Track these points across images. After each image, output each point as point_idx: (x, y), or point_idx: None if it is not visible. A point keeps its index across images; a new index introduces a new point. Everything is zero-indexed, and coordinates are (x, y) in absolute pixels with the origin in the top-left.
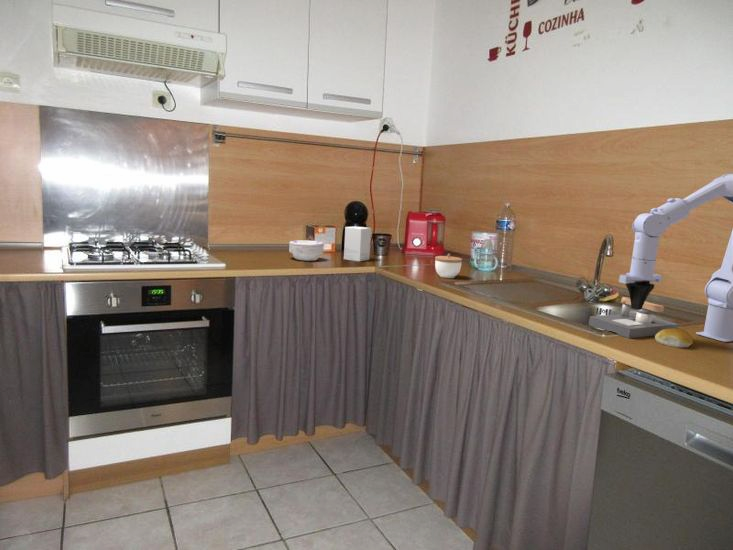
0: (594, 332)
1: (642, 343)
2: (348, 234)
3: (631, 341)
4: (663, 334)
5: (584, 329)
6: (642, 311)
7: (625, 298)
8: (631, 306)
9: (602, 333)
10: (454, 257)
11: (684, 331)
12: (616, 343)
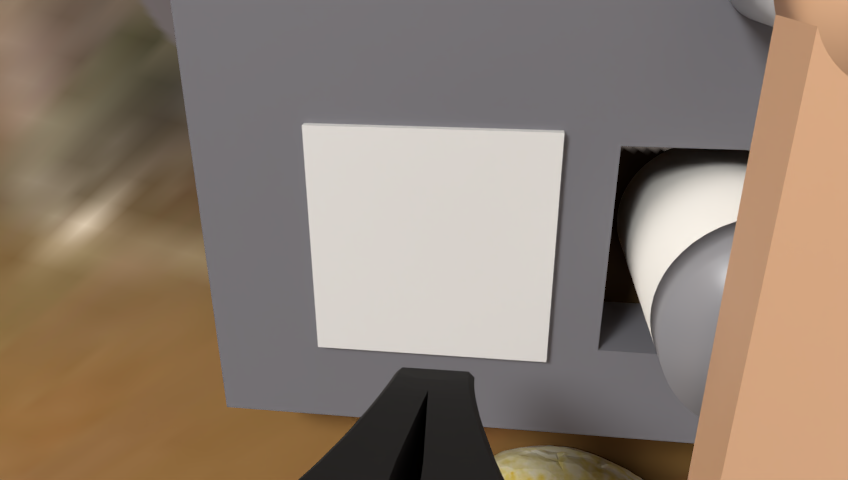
0: (63, 130)
1: (256, 468)
2: None
3: (208, 412)
4: None
5: (26, 11)
6: (658, 352)
7: (815, 11)
8: (388, 383)
9: (123, 179)
10: None
11: None
12: (39, 404)
